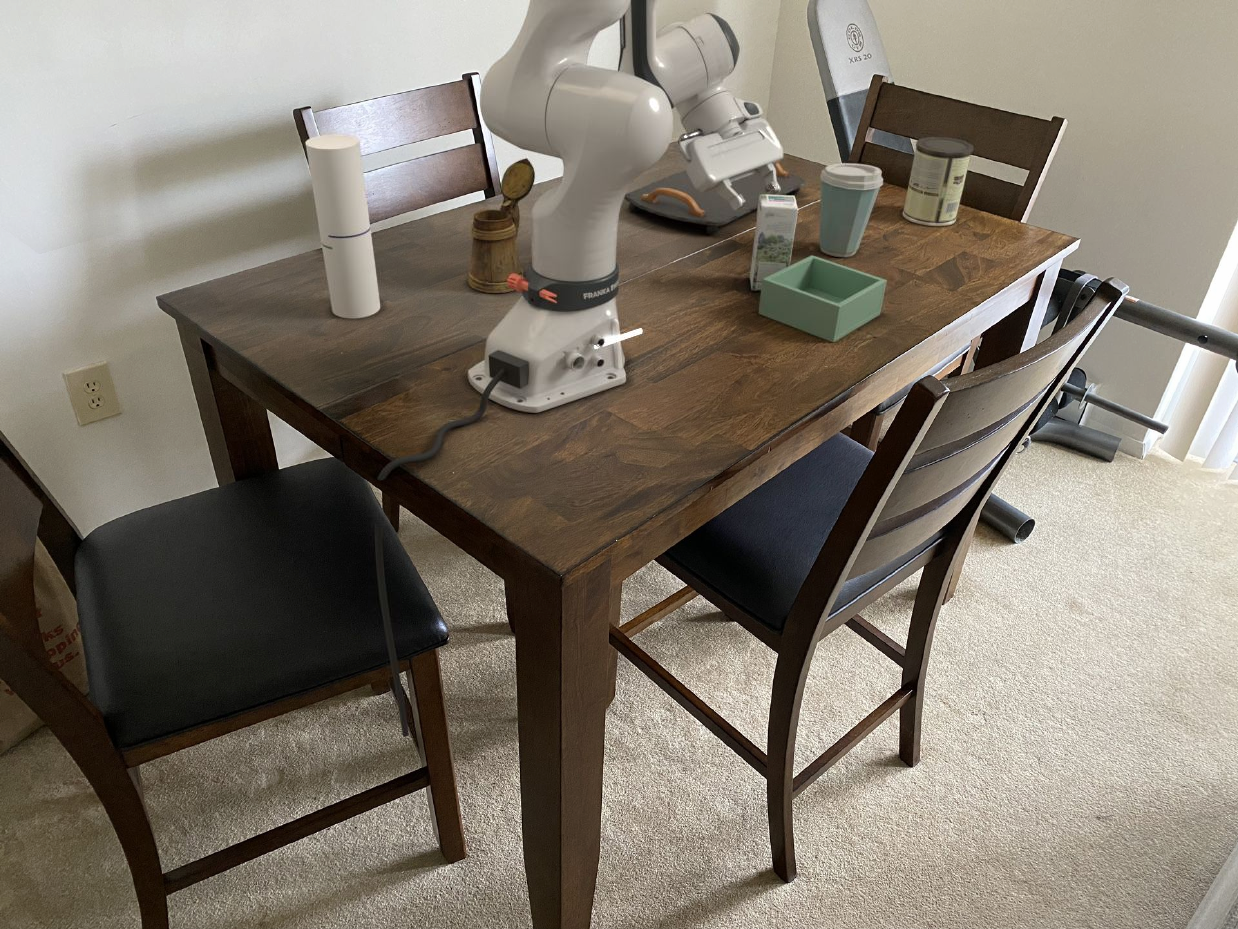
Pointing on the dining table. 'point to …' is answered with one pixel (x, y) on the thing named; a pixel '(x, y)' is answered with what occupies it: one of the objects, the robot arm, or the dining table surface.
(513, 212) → the wooden mug
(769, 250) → the syrup box
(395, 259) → the dining table surface
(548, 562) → the dining table surface
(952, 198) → the coffee can
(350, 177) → the cylindrical container
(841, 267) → the open storage box
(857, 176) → the disposable coffee cup
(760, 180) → the serving tray
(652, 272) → the dining table surface
